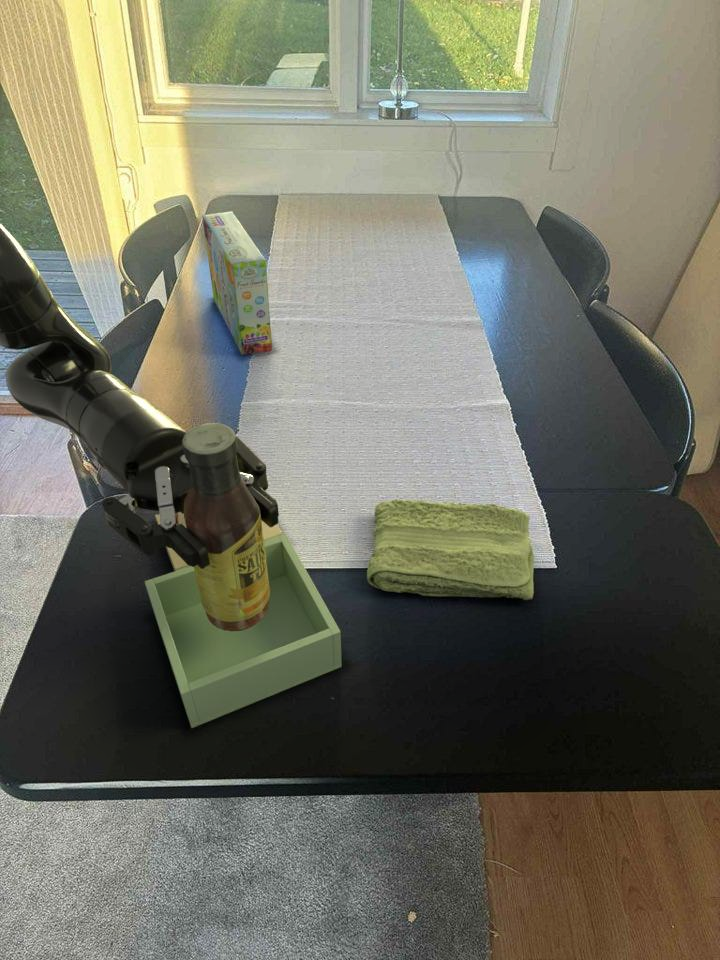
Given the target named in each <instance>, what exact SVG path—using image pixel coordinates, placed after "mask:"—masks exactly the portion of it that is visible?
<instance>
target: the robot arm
mask: <svg viewBox="0 0 720 960" xmlns="http://www.w3.org/2000/svg"><path fill="white" fill-rule="evenodd" d="M0 346H1V347H2V348H5V349H9V350H17V351H19V350H27V349H28V350H27V351H25V352H23V353H22V354H21V355H19V356H18V357H16V358H15V359H13V360H12V361H11V363H10V364H9V365H8V368H7V369H6V373H5V382H6V386H7V389H8V392H9V393H10V395H11V396H12V399H14V400H15V401H16V402H17V404H19V405H20V406H21V407H22V408H23V409H25V410H26V411H28V412H29V413H31V414H32V415H34V416H36V417H38V418H40V419H41V420H44V421H46V422H49V423H52V424H55V425H57V426H60V427H63V428H66V429H68V430H69V431H70V432H71V433H72V434H73V435H74V436H76V437H77V438H78V439H79V440H80V441H81V443H83V445H85V447H86V448H87V450H88V452H90V454H91V456H92V457H93V458H94V459H95V460H96V461H97V462H96V463H97V464H98V465H99V466H100V467H101V468H102V469H104V470H106V471H107V472H108V474H110V475H111V477H112V478H113V479H114V480H116V481H117V482H118V483H119V484H120V485H121V487H123V489H124V490H125V491H126V492H127V493H128V494H126V495H124V496H122V497H121V498H119V499H117V498H116V497H114V496H108V497H106V498H104V499H103V500H102V502H101V505H102V507H103V512H104V514H105V517H106V520H107V523H108V526H109V527H110V528H112V529H113V530H115V532H116V533H118V534H119V535H120V536H122V537H123V538H124V539H125V540H126V541H127V542H129V543H130V544H131V545H132V546H134V547H135V548H136V549H138V550H139V551H140V552H141V553H143V554H144V555H146V556H150V555H151V556H152V555H153V554H155V553H156V552H157V551H158V549H160V548H166V547H168V548H172V549H173V550H174V551H175V552H176V553H177V554H178V555H179V556H180V558H181V559H182V560H184V562H185V563H186V564H187V565H189V566H192V567H194V566H196V565H198V566H199V567H200V568H201V569H203V568H205V567H207V566H208V565H210V561H209V556H208V552H207V549H206V548H205V546H204V545H203V544H202V543H201V542H200V541H199V540H198V539H197V538H196V537H195V536H194V535H193V534H192V533H191V532H190V531H189V530H188V529H187V528H186V527H185V526H184V525H182V524H179V519H178V513H179V512H181V513H182V514H184V513H183V512H184V501H185V498H186V495H187V492H188V491H190V489H191V487H192V483H191V472H190V468H189V463H188V461H187V459H186V458H185V455H184V451H183V446H182V440H183V437H184V435H185V434H186V432H187V431H186V430H184V429H183V428H182V427H181V426H180V425H179V424H178V423H176V422H175V421H174V420H173V419H172V418H171V417H169V416H168V415H167V414H165V412H163V411H162V410H161V409H160V408H158V407H157V406H156V405H155V404H154V403H152V402H151V401H150V400H148V399H146V398H145V397H143V396H141V395H139V394H138V393H137V392H136V391H134V390H133V389H132V388H131V387H130V386H128V385H127V384H126V383H125V382H123V381H122V380H121V379H120V378H119V377H117V376H116V375H114V374H112V373H111V372H112V361H111V360H112V359H111V356H110V354H109V352H108V350H107V349H106V347H104V345H103V344H102V343H101V342H100V341H99V340H98V339H97V338H96V337H95V336H94V335H93V334H91V333H90V332H89V331H88V330H86V329H85V328H84V327H83V326H82V325H80V324H79V323H78V322H77V321H76V320H75V319H74V318H72V317H71V316H70V314H68V313H67V311H66V310H65V309H64V308H63V306H62V305H61V304H60V303H59V302H58V301H57V299H56V298H55V296H54V295H53V293H52V291H51V289H50V288H49V287H48V285H47V282H46V281H45V279H44V278H43V277H42V275H41V272H40V271H39V270H38V268H37V266H36V265H35V263H34V261H33V260H32V258H31V257H30V256H29V254H28V253H27V251H26V250H25V249H24V247H23V246H22V244H21V243H20V242H19V241H18V240H17V239H16V238H15V237H14V236H13V234H11V232H10V231H9V230H8V229H7V228H6V227H5V226H4V225H3V224H2V223H1V222H0ZM236 440H237V444H238V451H237V454H236V455H237V460H238V469H239V471H240V473H241V479H242V480H243V482H244V483H245V485H246V487H247V488H248V490H249V491H250V493H251V495H252V496H253V498H254V499H255V501H256V503H257V504H258V506H259V508H260V514H261V520H262V521H263V522H264V523H265V524H267V525H268V526H269V527H270V528H271V527H273V526H275V525H276V524H277V525H279V516H280V513H279V505H278V502H277V500H276V499H275V498H274V497H273V496H272V495H271V494H269V493H268V492H267V490H268V489H269V481H268V476H267V465H266V463H265V462H264V461H263V460H262V459H261V458H260V457H259V456H258V455H257V454H256V453H255V452H254V451H253V450H252V449H251V448H250V447H249V446H248V445H247V444H246V443H245V442H244V441H243V440H242V438H241V437H240V436H238V435H236ZM136 508H137V509H141V510H149V511H154V512H159V513H158V514H160V524H159V525H157V524H154V525H151V524H150V523H149V522H147V521H146V520H145V519H143V518H142V517H141V516H140V515H138V514H137V513H136Z"/></svg>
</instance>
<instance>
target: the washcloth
mask: <svg viewBox="0 0 720 960" xmlns="http://www.w3.org/2000/svg"><path fill="white" fill-rule="evenodd" d="M530 515H531V514H530V513H526V512H524V511H522V510H521V509H519V508H518V509H517V508H510V507H506V506H502V505H497V504H493V503H490V504H489V503H486V504H482V503H480V504H477V503H473V504H472V503H462V502H458V503H454V502H449V503H447V502H436V501H433V502H430V501H427V500H423V499H419V500H415V499H410V500H406V499H405V500H402V499H393V500H385V501H380V502H379V503H377V504H376V505H375V509H374V519H373V521H374V528H373V535H372V537H374V538H375V540H374V550H373V552H372V553H371V556H370V560H369V562H368V568H367V570H366V579H367V583H368V584H370V585H371V587H374V588H377V589H379V590H381V591H384V592H389V593H398V594H399V593H408V594H409V593H410V594H418V595H420V596H423V597H439V598H441V597H461V598H462V597H464V598H501V597H502V598H503V597H505V598H506V599H509V598H510V599H521V600H524V601H528V600H533V597H534V594H535V591H534V588H535V587H534V571H535V569H534V568H535V567H534V564H535V555H534V550H533V547H532V541H531V539H530V531H529V530H530V529H529V528H530V527H529V526H530V525H529V524H530V518H531V517H530Z"/></svg>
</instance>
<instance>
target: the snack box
mask: <svg viewBox="0 0 720 960" xmlns="http://www.w3.org/2000/svg"><path fill="white" fill-rule="evenodd" d="M201 217H202V224H203V230H204V238H205V246H206V252H207V259H208V267H209V275H210V282H211V289H212V290H211V291H212V298H213V301H214V303H215V304H216V307H217V309H218V311H219V313H220V314H221V317H222V318H223V320H224V322H225V324H226V326H227V328H228V330H229V332H230V334H231V336H232V339H233V340H234V342H235V344H236V346H237V348H238V350H239V352H240V354H241V356H246V355H253V354H254V355H255V354H259V353H265V352H266V353H267V352H271V351H273V343H272V329H271V313H270V300H269V284H268V273H267V269H268V268H267V260H266V259H265V257H264V256H263V253H261V251H260V250H259V249H258V247H257V246H256V244H255V243H254V241H253V240H252V238H251V236H250V235H249V233H247V231H246V229H245V228H244V227H243V226H242V224H241V222H240V221H239V219H238V218H237V216H236V215H235V214H234V212H233V211H231V210H230V211H225V212H216V213H215V212H214V213H209V214H202V216H201Z"/></svg>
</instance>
